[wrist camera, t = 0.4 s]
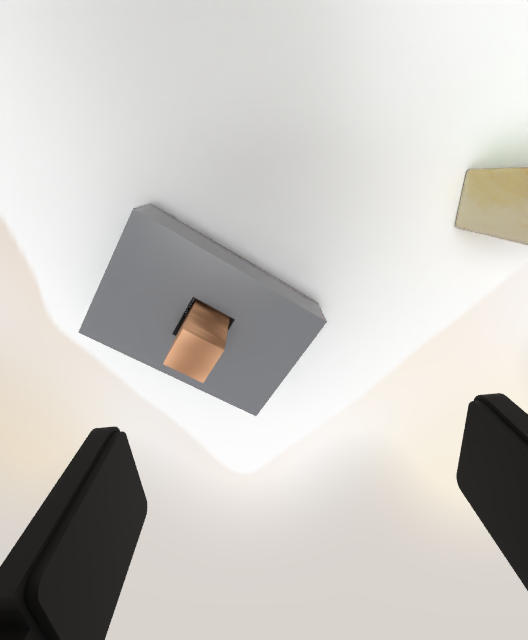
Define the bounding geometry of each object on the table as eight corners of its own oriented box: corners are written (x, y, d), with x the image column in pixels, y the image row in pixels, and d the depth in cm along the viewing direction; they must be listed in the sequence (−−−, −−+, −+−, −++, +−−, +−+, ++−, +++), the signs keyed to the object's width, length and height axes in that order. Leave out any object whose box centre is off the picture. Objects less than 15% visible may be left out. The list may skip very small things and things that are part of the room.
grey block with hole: (100, 312, 44) (78, 332, 38) (150, 203, 39) (133, 208, 33) (255, 389, 50) (256, 416, 44) (317, 303, 44) (326, 321, 39)
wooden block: (187, 313, 44) (162, 364, 32) (202, 286, 43) (182, 329, 31) (216, 328, 45) (203, 383, 33) (232, 302, 44) (224, 350, 32)
